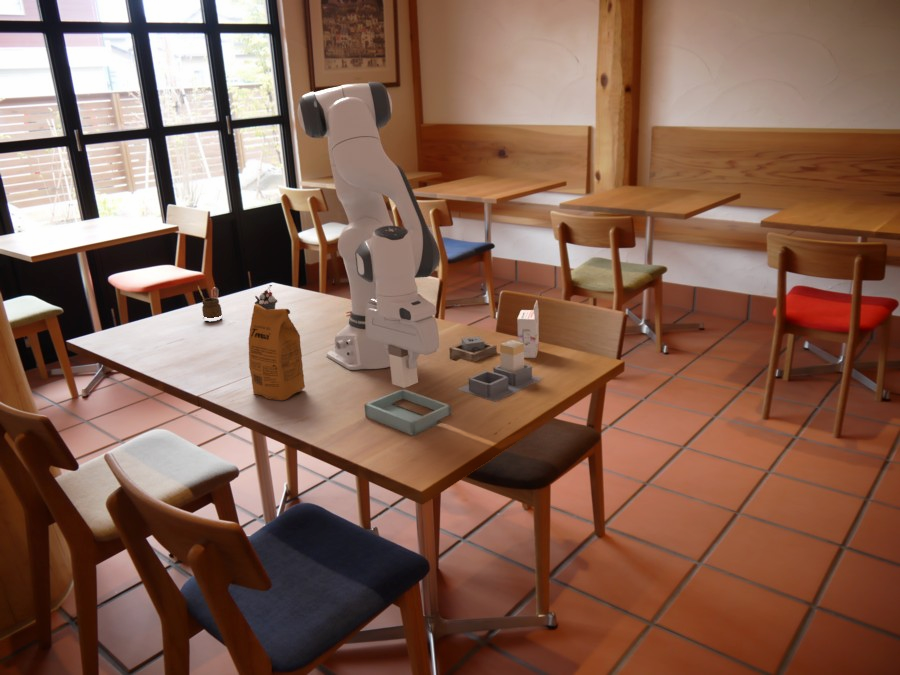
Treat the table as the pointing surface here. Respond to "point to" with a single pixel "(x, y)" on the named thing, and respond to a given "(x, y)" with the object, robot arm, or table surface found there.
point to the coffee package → (274, 354)
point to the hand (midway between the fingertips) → (403, 365)
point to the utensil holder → (211, 306)
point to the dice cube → (472, 344)
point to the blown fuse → (401, 367)
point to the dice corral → (458, 353)
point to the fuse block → (499, 382)
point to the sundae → (266, 300)
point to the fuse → (512, 356)
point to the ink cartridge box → (529, 331)
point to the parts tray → (406, 412)
